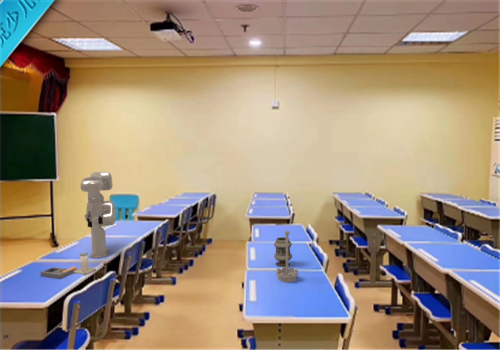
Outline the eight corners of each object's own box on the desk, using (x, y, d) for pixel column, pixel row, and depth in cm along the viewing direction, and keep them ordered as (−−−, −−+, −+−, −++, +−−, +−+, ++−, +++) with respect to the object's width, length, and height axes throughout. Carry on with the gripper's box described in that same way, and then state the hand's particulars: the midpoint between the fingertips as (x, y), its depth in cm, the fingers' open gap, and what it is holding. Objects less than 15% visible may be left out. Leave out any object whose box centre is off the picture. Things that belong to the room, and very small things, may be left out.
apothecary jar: (270, 263, 256) (270, 237, 254) (286, 260, 261) (286, 235, 259) (279, 268, 245) (279, 241, 243) (295, 265, 250) (295, 239, 248)
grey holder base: (54, 271, 243) (53, 267, 243) (73, 274, 238) (73, 269, 237) (40, 276, 233) (40, 272, 233) (60, 279, 228) (60, 275, 228)
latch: (73, 270, 244) (73, 266, 244) (76, 270, 243) (76, 267, 243) (61, 275, 235) (60, 271, 234) (64, 275, 234) (64, 272, 233)
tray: (84, 269, 247) (84, 266, 247) (95, 270, 244) (95, 268, 244) (73, 273, 239) (73, 271, 238) (85, 275, 235) (84, 273, 235)
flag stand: (297, 283, 219) (297, 233, 216) (274, 282, 222) (274, 232, 219) (298, 275, 232) (298, 228, 229) (277, 274, 234) (277, 227, 232)
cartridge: (85, 269, 244) (84, 252, 244) (90, 270, 243) (89, 253, 242) (79, 271, 240) (78, 254, 239) (84, 272, 238) (83, 255, 237)
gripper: (98, 198, 257) (100, 222, 259) (79, 202, 241) (81, 228, 243) (107, 198, 255) (108, 223, 256) (89, 202, 238) (90, 228, 240)
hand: (95, 225), depth 249 cm, fingers open, 9 cm apart
